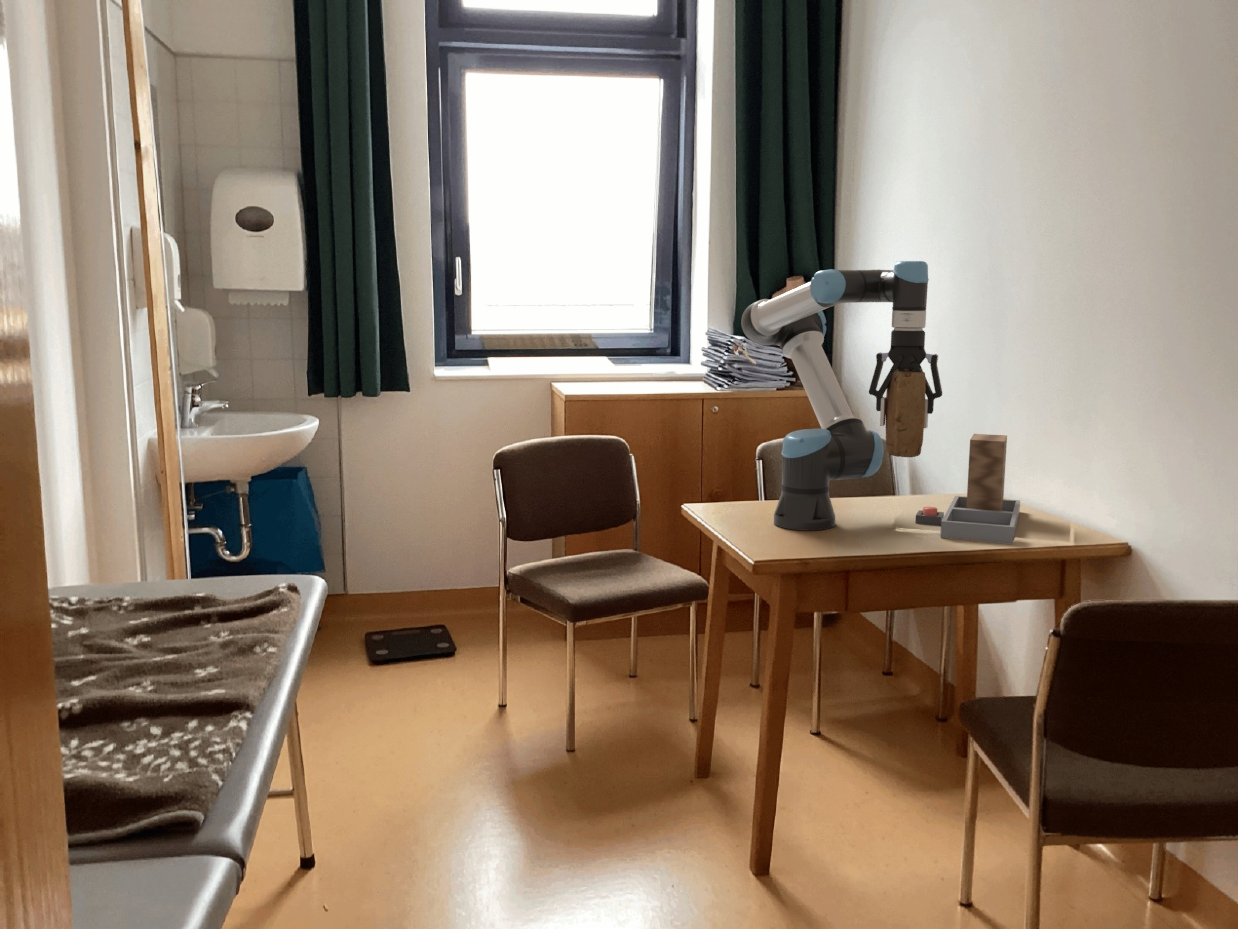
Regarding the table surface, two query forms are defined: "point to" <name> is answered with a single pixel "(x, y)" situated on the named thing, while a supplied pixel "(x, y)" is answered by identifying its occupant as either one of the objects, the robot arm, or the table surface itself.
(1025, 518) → the table surface
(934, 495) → the table surface
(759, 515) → the table surface
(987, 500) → the seated billet
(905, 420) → the block
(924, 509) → the button
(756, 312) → the robot arm
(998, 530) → the gray divided tray
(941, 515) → the button housing
